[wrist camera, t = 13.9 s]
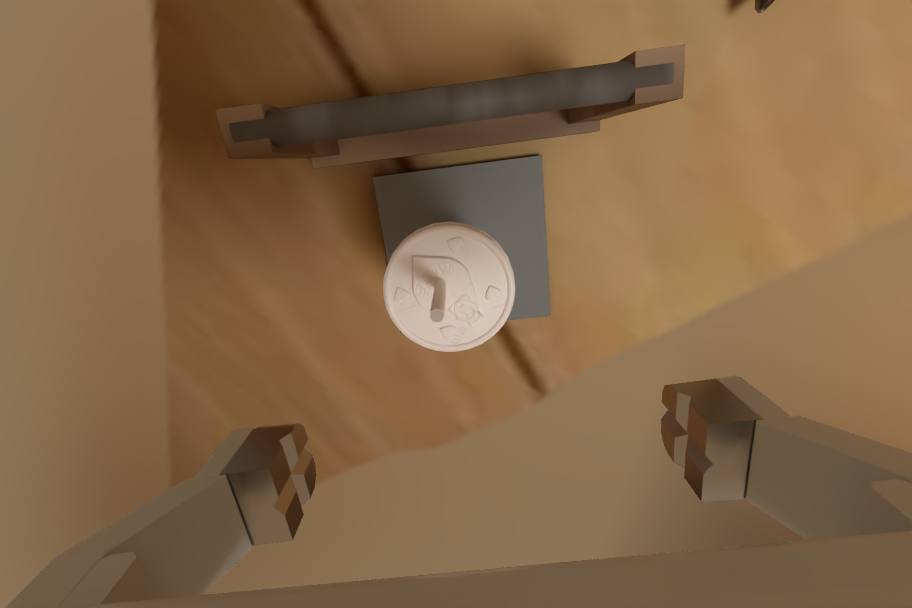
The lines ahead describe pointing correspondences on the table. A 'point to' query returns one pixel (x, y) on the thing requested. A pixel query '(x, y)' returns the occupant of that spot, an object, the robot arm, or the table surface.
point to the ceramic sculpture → (762, 5)
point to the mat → (478, 216)
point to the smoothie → (449, 286)
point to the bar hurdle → (455, 113)
